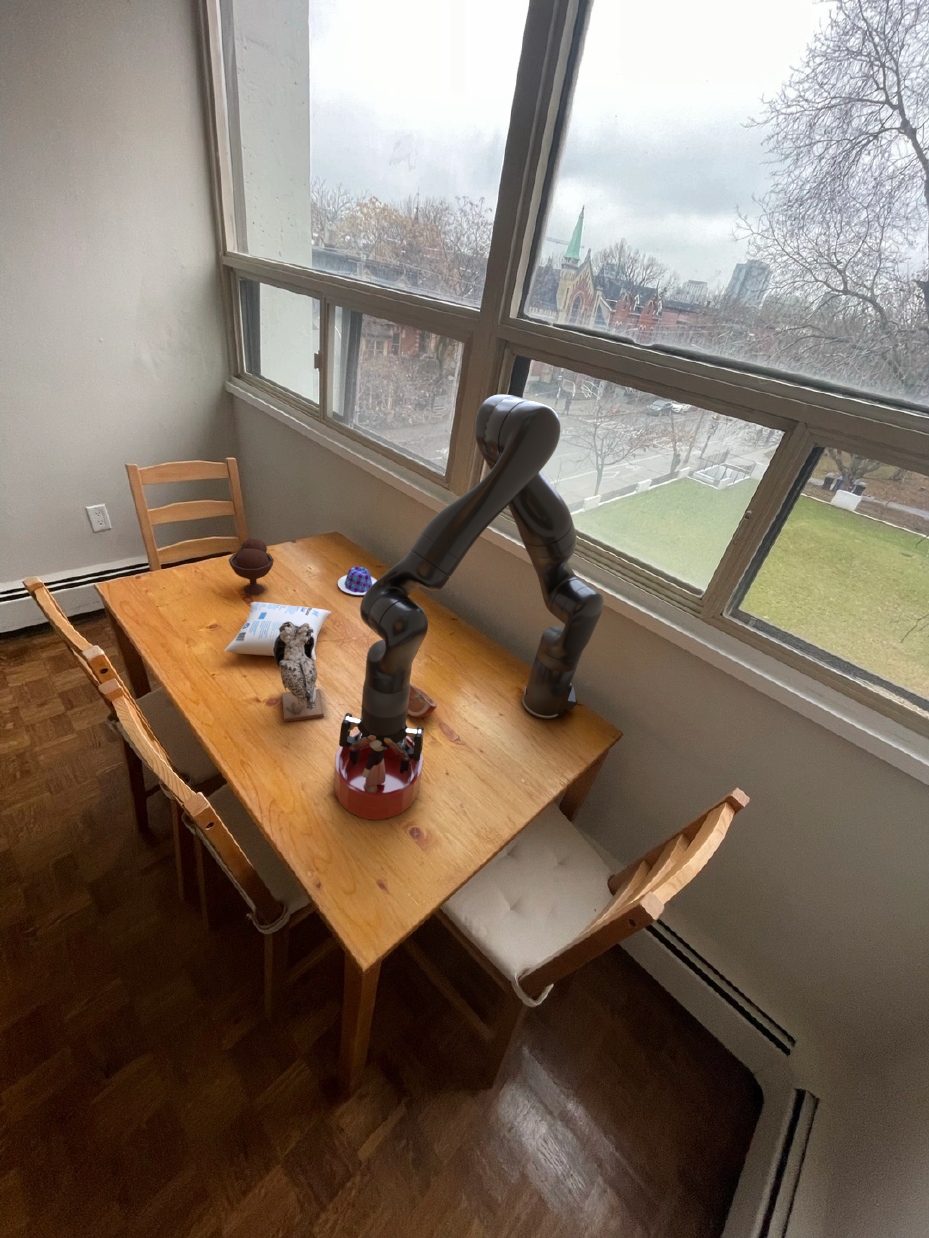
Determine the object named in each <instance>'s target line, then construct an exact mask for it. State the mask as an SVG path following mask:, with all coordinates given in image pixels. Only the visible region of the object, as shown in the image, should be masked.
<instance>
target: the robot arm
mask: <svg viewBox="0 0 929 1238" xmlns="http://www.w3.org/2000/svg"><path fill="white" fill-rule="evenodd" d="M474 437H475V442H476V444H477V448H478V449H479V452H480V454H481V456H482V457H483V459H484V461H485V463H486V464H487V466H488V468H489V470H490V471H488V474H487V475H486V476H484V477H483V478H482V480H481V481H480V482H478V484H476V485H475V486H473V488H471V489H470V490H469V491H467V492H466V493H464V494H462V496H460V497H459V498H457V499H456V500H454V501H452V502H451V503H450V504H448V505H446V506H445V507H444V508H443V509H442V510H440V511H439V512H438V513H437V514H435V515H434V516H433V517H432V518H431V519H430V520H429V521H428V523H427V524H426V525H425V526H424V528H423V529H422V531H421V532H420V533H419V535H418V536H417V538H416V539H415V541H414V542H413V544H412V545H411V546H410V549H408V551H407V553H406V554H405V556H404V557H402V559H400V560H399V561H398V562H396V564H395V565H393V566H392V567H391V568H390V569H389V570H388V571H387V572H385V573H384V574H383V575H382V576H380V577H379V578H378V579H376V580H377V581H376V582H375V583H374V584H373V585H372V586H371V587H370V588H369V589H368V590H367V592H366V593H365V595H363V597H362V599H361V603H360V607H359V615H360V618H361V621H362V622H363V623H364V624H365V625H366V626H367V627H368V628H370V629H371V630H372V632H374V633H375V634H376V635H377V636H378V637H379V638H381V640H377V641H376V642H374V643H372V645H371V646H370V647H369V648H368V651H367V653H366V661H365V674H364V681H363V685H362V694H361V712H360V718H356V717H353V714H352V713H350V712H346V713H345V714H344V717H343V719H342V722H341V724H340V732H339V739H338V745H339V746H341V747H345V746H347V747H348V748H349V750H350V754H349V759H350V761H353V762H352V764H354V765H357V762H358V759H359V755H360V747H361V748H363V747H364V746H365V745H367V744H368V743H371V742H373V741H375V740H378V741H380V742H382V745H381V746H383V747H386V748H389V747H391V748H392V750H393V751H394V752H395V753H396V754H399V755H400V756H401V758H402V759H401V766H400V773H402V774H403V773H404V771H407V770H408V768H409V764H410V759H414V760H415V761H419V760H420V757H421V752H422V751H423V745H424V733H425V728H424V727H423V726H421V725H419V726H417V727H416V729H415V728H409V727H408V725H407V718H408V713H407V711H408V704H409V700H410V684H411V676H412V668H413V662H414V660H415V658H416V656H417V654H418V652H419V650H420V647H421V645H422V644H423V642H424V640H425V638H426V636H427V633H428V629H429V620H428V616H427V613H426V612H425V609H423V608H422V606H420V605H419V604H418V603H417V602H416V601H414V600H413V599H412V598H410V596H409V595H410V594H412V593H413V592H415V591H416V590H418V589H419V588H423V589H426V590H427V591H431V592H438V591H440V590H442V588H444V586H445V585H446V584H447V583H448V582H449V580H450V578H451V577H452V575H453V574H454V572H455V571H456V570H457V568H458V567H459V565H460V564H461V562H462V561H463V559H464V558H465V557H466V555H467V553H468V552H469V551H470V549H471V548H472V546H473V545H474V544H475V542H477V540H478V539H479V537H480V536H481V535H482V534H483V533H484V531H485V530H486V529H487V528H488V527H489V526H490V525H491V523H493V522H494V520H496V518H497V517H498V516H500V514H501V513H502V512H503V511H504V510H505V509H506V508H507V507H508V509H509V511H510V514H511V516H512V518H513V520H514V523H515V525H516V527H517V530H518V534H519V536H520V539H521V541H522V543H523V546H524V549H525V551H526V552H527V554H528V557H529V559H530V561H531V564H532V567H533V569H534V571H535V573H536V575H537V578H538V582H539V585H540V590H541V594H542V599H543V603H544V605H545V607H546V609H547V611H548V612H550V613H551V614H552V615H553V616H554V617H555V618H556V619H558V620H559V621H560V622H561V623H562V624H564V626H562V625H554V626H549V627H548V628H546V629H545V630H544V631H543V632H542V634H541V638H540V641H539V644H538V648H537V651H536V654H535V657H534V661H533V664H532V666H531V671H530V674H529V677H528V680H527V684H526V685H525V686H524V693H523V695H522V699H521V703H522V706H523V708H524V709H525V710H526V712H527V713H529V715H531V716H533V717H535V718H538V719H541V720H552V719H556V718H562V717H563V714H564V713H565V712H564V711H565V709H566V710H574V708H575V707H576V706H577V704H578V699H577V697H576V692H575V686H573V679H574V677H575V673H576V671H577V668H578V665H579V662H580V659H581V657H582V654H583V652H584V650H585V649H586V647H587V646H588V644H589V642H590V641H591V639H592V636H593V633H594V632H595V629H596V627H597V625H598V622H599V620H600V618H601V615H602V614H603V610H604V606H605V605H604V604H605V600H604V597H603V594H601V592H599V591H598V590H597V589H595V588H594V587H592V586H591V585H589V584H588V583H586V582H585V581H584V580H583V579H581V578H580V577H579V576H577V574H576V573H575V571H574V570H573V568H572V565H571V562H570V559H571V558H572V557H573V555H574V553H575V550H576V549H577V545H578V544H577V543H578V537H577V532H576V527H575V524H574V521H573V517H572V514H571V511H570V509H569V507H568V505H567V503H566V502H565V500H564V499H563V498H562V496H561V494H559V492H558V491H557V490H556V488H555V487H554V486H553V484H551V483H550V481H549V480H548V479H547V478H546V476H545V475H544V474H543V472H542V471H541V470H543V468H544V467H545V466H546V465H547V464H548V462H549V461H550V460H551V458H552V456H553V455H554V453H555V451H556V449H557V447H558V444H559V441H560V437H561V422H560V418H559V416H558V413H557V412H556V411H555V410H554V409H553V408H552V407H551V406H549V405H546V404H544V403H540V402H537V401H534V400H530V399H526V398H524V397H520V396H516V395H513V394H503V393H502V394H501V393H500V394H499V393H498V394H494V395H492V396H489V397H488V398H486V399H485V400H484V401H483V402H482V403H481V404H480V406H479V407H478V410H477V413H476V415H475V419H474ZM354 728H357V730H358V731H360V733H358V734H357V735H356V736H354V737H351V731H353V730H354ZM406 736H408V737H410V740H411V741H412V743H414V748H412V747H411V746H410V745H409V744H408V742H407V739H406Z"/></svg>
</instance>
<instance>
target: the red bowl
mask: <svg viewBox="0 0 929 1238" xmlns="http://www.w3.org/2000/svg"><path fill="white" fill-rule="evenodd" d="M358 733H360V731H359V730H358V731H356V732H354V733H352V734H350V736H351V737H354V736H356V735H357V734H358ZM406 739H407V742H408V744H409V745H410V746H411V747H412V748H414V743H412V741H411V740H410V737H408V736H406ZM371 750H372V748H371V747H370V744H369V743H368V744H367V745H365V746H364V747H363V748H361V747H360V755H359V759H358V762H357V765H354V764H352V762H353V761H350V759H349V754H350V750H349V748H348V747H347V746H345V747H341V746H340V745H339V746H338V749H337V751H336V753H335V756H334V793H335V796H336V798H337V801H338V802H339V803H340V804H341V805H342V806H343V808H344V809H345V810H346V811H347V812H349V813H352V814H353V815H355V816H357V817H359V818H363V819H369V820H373V821H375V820H384V819H390V818H393V817H396V816H397V815H401V814H402V813H404V811H405V810H407V809H408V808H409V807H411V805H412V804H413V802H414V801H415V800H416V798H417V796H418V794H419V788H420V784H421V778H422V772H423V766H424V758H423V752H422V751H421V757H420V760H419V761H415V760H414V759H410V764H409V768H408V770H407V771H404V773H403V774H402V773H400V766H401V759H402V758H401V756H400V755H399V754H396V753H395V752H394V751H393V750H392V748H391V747H389V748H387V749H386V750H384V758H383V759H384V766H385V775H386V780H385V782H384V783H383V784H381V785H376V786H377V787H378V790H377V792H376V793H373V792H367V791H366V790H365V789H364V787H363V786H364V784H365V782H366V778H364V777H363V776H362V774H363V772H364V769H365V766H366V763H367V761H368V759H369V753H370V751H371Z"/></svg>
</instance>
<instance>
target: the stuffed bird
mask: <svg viewBox="0 0 929 1238" xmlns="http://www.w3.org/2000/svg"><path fill="white" fill-rule="evenodd" d="M279 632H280V634H279V636H278V637H277V638H276V641H275V644H274V649H273V652H274V656H273V659H274V661H275V663H276V665H277V667H278V668H279V673H280V679H281V681H282V682H281V683H282V686H283V688H284V690H285V691H286V692H282V693H281V701H282V711H283V721H284V723H287V722H296V721H302V720H311V719H317V718H323V717H324V716H325V711H324V707H323V702H322V697H321V692H320V691H321V690H320V688H317V686H316V683H317V678H318V670H317V667H316V664H315V662H314V660H311V658H312V655H311V654H312V649H313V647H314V638H313V637H312V636H311V633H314V631H313V629H312V628H311V627H310V626H309V624H308V623H304V624H303V625H301V626H295V625H294V624H293V623H292V622H290V621H287V622H285V623H283V624H282V625H281V627H280V628H279ZM287 689H288V692H287Z"/></svg>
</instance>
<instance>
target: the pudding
mask: <svg viewBox="0 0 929 1238" xmlns="http://www.w3.org/2000/svg"><path fill="white" fill-rule="evenodd" d="M377 580H378V579H376V578H375V577H373V576H371V572H370V570H368V569H367V568H366V567H363V566H353V567H351V568H349V570H348V571H347V574H345V575H343V576H341V577H340V578H339V579H338V580H337V586H338V588H339V589H340V590H341V591H343V592H344V593H347V594H351V595H354V596H355V595H356V596H364V595H365V593H366V592H367V590H368V589H369V588H370V587H371V586H372V585H373V584H374V583H375V582H376V581H377Z"/></svg>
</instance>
